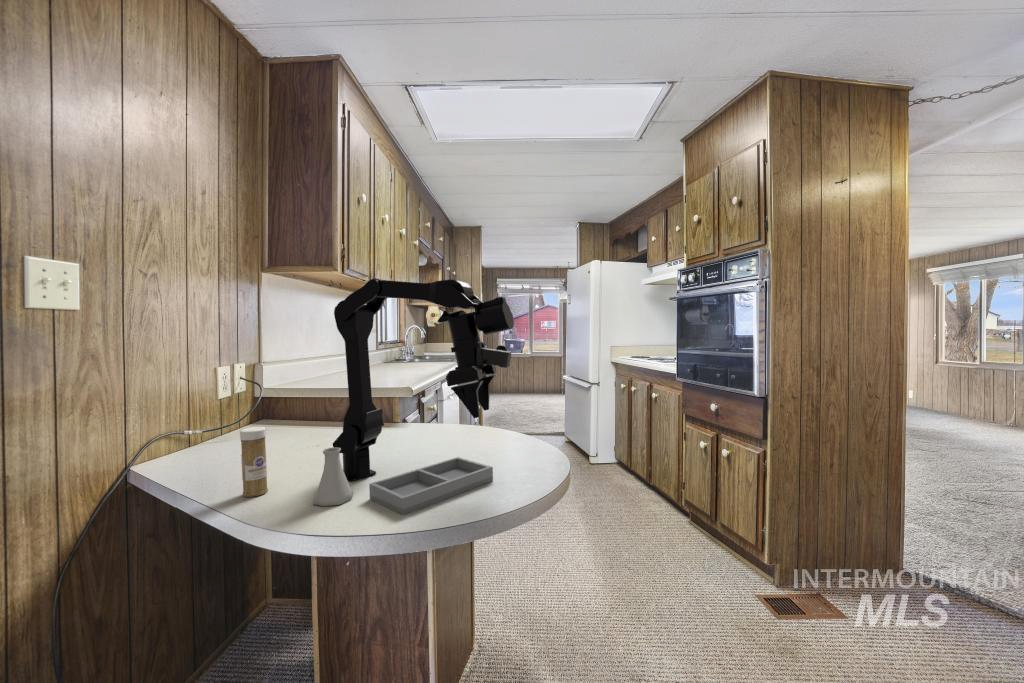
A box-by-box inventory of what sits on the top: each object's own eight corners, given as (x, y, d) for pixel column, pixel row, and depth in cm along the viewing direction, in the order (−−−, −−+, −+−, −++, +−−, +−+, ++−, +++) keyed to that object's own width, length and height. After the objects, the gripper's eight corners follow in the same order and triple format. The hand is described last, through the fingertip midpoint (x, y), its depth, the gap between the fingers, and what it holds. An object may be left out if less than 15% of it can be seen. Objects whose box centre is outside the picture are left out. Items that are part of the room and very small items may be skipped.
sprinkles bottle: (254, 498, 87) (251, 431, 86) (237, 496, 88) (234, 430, 88) (273, 490, 91) (270, 426, 91) (256, 488, 93) (253, 425, 92)
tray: (369, 498, 85) (369, 483, 85) (458, 469, 102) (457, 456, 102) (403, 515, 78) (402, 498, 77) (492, 480, 94) (492, 466, 94)
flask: (359, 493, 89) (358, 444, 88) (342, 507, 82) (340, 454, 81) (325, 492, 89) (324, 444, 89) (305, 507, 82) (303, 454, 82)
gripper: (494, 330, 80) (512, 414, 80) (510, 332, 99) (525, 399, 98) (437, 343, 82) (455, 425, 81) (463, 342, 100) (478, 409, 100)
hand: (481, 413), depth 90 cm, fingers open, 9 cm apart
